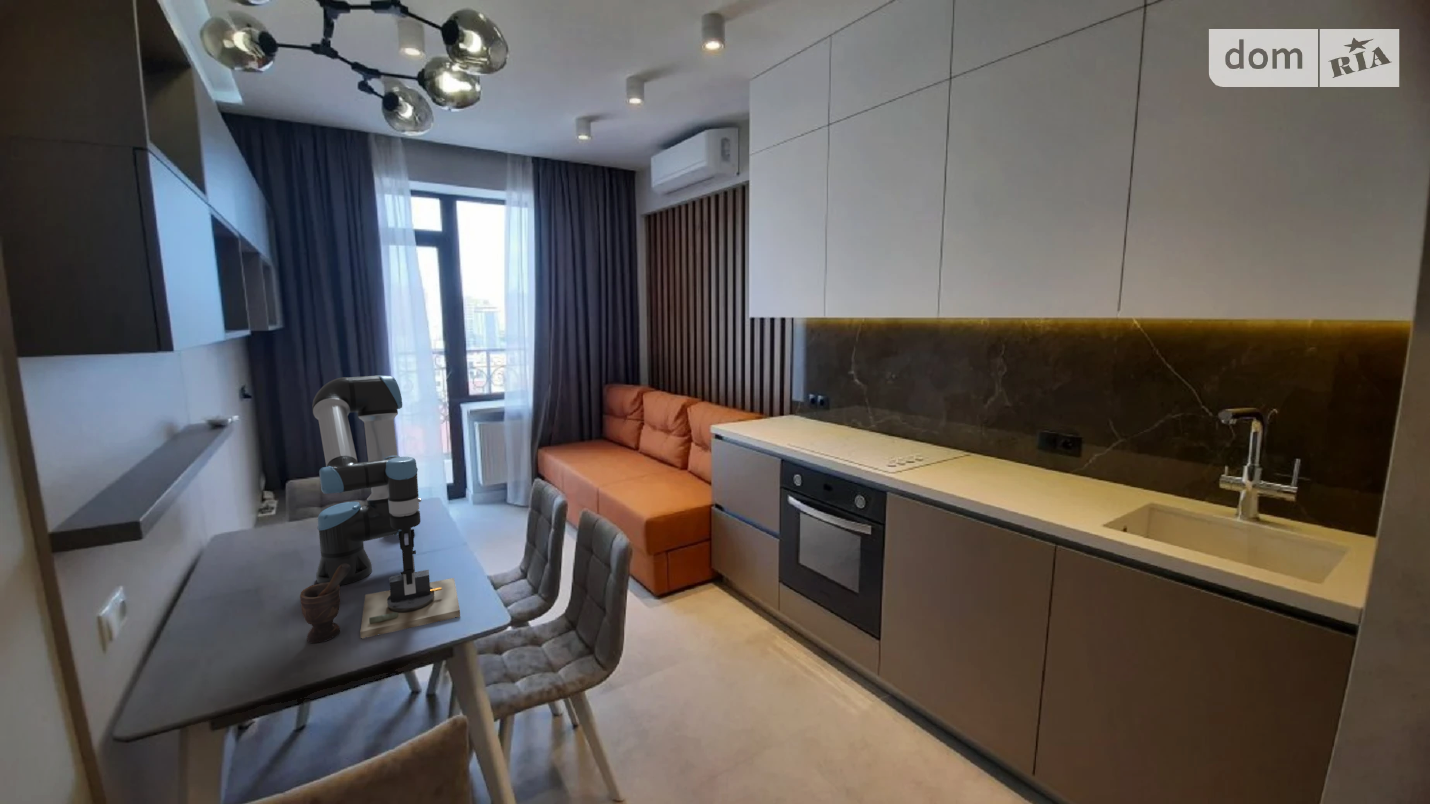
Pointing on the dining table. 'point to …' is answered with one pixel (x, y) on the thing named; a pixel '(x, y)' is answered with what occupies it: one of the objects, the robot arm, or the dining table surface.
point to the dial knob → (411, 601)
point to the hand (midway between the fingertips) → (410, 585)
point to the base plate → (386, 621)
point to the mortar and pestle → (323, 606)
